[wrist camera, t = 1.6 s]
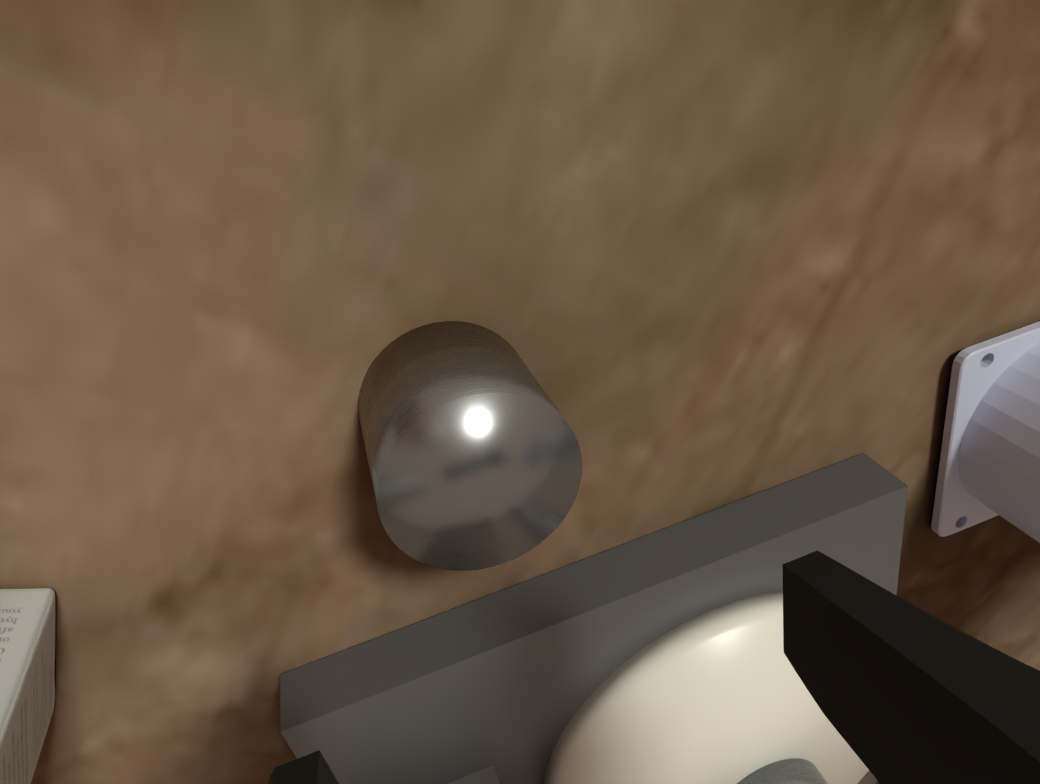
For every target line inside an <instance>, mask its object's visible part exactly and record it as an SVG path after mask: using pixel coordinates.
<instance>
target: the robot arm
mask: <svg viewBox="0 0 1040 784" xmlns="http://www.w3.org/2000/svg"><path fill="white" fill-rule="evenodd" d="M998 515H1000V516H1001V517H1002V518H1004V519H1005V520H1007V521H1008V522H1010V523H1011V524H1013V525H1014V526H1016V527H1017V528H1018V529H1020V530H1021V531H1023V532H1024V533H1026V534H1027V535H1029V536H1030V537H1032V538H1033V539H1034V540H1036V541H1037V542H1039V543H1040V321H1039V322H1036V323H1033V324H1031V325H1028V326H1025V327H1022V328H1020V329H1017V330H1014V331H1011V332H1009V333H1006V334H1003V335H1000V336H998V337H995V338H992V339H989V340H986V341H984V342H981V343H978V344H975V345H973V346H970V347H967V348H965V349H963V350H962V351H960V352H959V353H958V354H957V356H956V357H955V359H954V361H953V365H952V372H951V380H950V387H949V395H948V402H947V410H946V418H945V425H944V433H943V440H942V448H941V456H940V463H939V471H938V478H937V486H936V493H935V501H934V509H933V516H932V524H931V527H932V530H933V531H934V532H935V533H937V534H938V535H939V536H942V537H945V536H949V535H951V534H954V533H956V532H959V531H961V530H964V529H966V528H969V527H971V526H973V525H976V524H978V523H981V522H983V521H986V520H988V519H991V518H993V517H995V516H998ZM782 568H783V647H784V654H785V655H786V657H787V658H788V660H789V662H790V663H791V665H792V666H793V668H794V670H795V671H796V673H797V674H798V676H799V677H800V679H801V681H802V682H803V684H804V685H805V687H806V688H807V690H808V691H809V693H810V694H811V696H812V697H813V699H814V700H815V702H816V703H817V705H818V706H819V708H820V709H821V711H822V712H823V714H824V715H825V716H826V717H827V719H828V720H829V721H830V722H831V724H832V725H833V726H834V727H835V729H836V730H837V731H838V732H839V734H840V735H841V736H842V737H843V739H844V740H845V741H846V742H847V744H848V745H849V746H850V747H851V748H852V750H853V751H854V752H855V753H856V755H857V756H858V757H859V758H860V760H861V761H862V762H863V763H864V764H865V766H866V767H867V768H868V769H869V771H870V772H871V773H872V774H873V775H874V777H875V778H876V779H877V780H878V781H879V783H880V784H1040V671H1039V670H1037V669H1034V668H1032V667H1030V666H1028V665H1026V664H1024V663H1022V662H1020V661H1018V660H1016V659H1014V658H1012V657H1010V656H1008V655H1006V654H1004V653H1002V652H1000V651H998V650H996V649H994V648H992V647H991V646H989V645H987V644H985V643H983V642H981V641H979V640H977V639H975V638H974V637H972V636H970V635H968V634H966V633H964V632H962V631H960V630H959V629H957V628H955V627H953V626H951V625H949V624H947V623H945V622H943V621H942V620H940V619H938V618H936V617H934V616H932V615H931V614H929V613H927V612H925V611H923V610H922V609H920V608H918V607H916V606H914V605H913V604H911V603H909V602H907V601H906V600H904V599H902V598H900V597H898V596H897V595H895V594H893V593H891V592H890V591H888V590H886V589H884V588H883V587H881V586H879V585H877V584H876V583H874V582H872V581H870V580H869V579H867V578H865V577H863V576H862V575H860V574H858V573H856V572H855V571H853V570H851V569H850V568H848V567H846V566H844V565H843V564H841V563H839V562H837V561H836V560H834V559H832V558H830V557H828V556H827V555H825V554H823V553H821V552H819V551H818V550H817V551H815V552H812V553H810V554H807V555H805V556H802V557H800V558H797V559H795V560H792V561H790V562H787V563H785V564H782ZM269 784H339V783H338V781H337V779H336V778H335V776H334V774H333V772H332V771H331V769H330V767H329V766H328V764H327V762H326V761H325V759H324V757H323V755H322V754H321V752H320V750H318V751H316V752H313V753H311V754H308V755H306V756H303V757H301V758H298V759H296V760H293V761H291V762H288V763H286V764H283V765H281V766H278V767H276V768H275V769H274V771H273V772H272V774H271V776H270V779H269Z"/></svg>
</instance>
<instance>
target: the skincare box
mask: <svg viewBox="0 0 1040 784" xmlns="http://www.w3.org/2000/svg"><path fill="white" fill-rule="evenodd" d="M54 670H55V592H54V590H53V589H50V588H34V589H0V784H31V782H32V778H33V775H34V772H35V769H36V765H37V762H38V759H39V756H40V752H41V749H42V746H43V743H44V740H45V736H46V733H47V730H48V727H49V723H50V720H51V717H52V713H53V710H54V703H55V679H54Z"/></svg>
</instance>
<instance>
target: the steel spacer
mask: <svg viewBox="0 0 1040 784" xmlns="http://www.w3.org/2000/svg"><path fill="white" fill-rule="evenodd" d="M358 412H359V419H360V425H361V429H362V434H363V439H364V444H365V449H366V454H367V459H368V464H369V469H370V474H371V479H372V483H373V488H374V493H375V498H376V503H377V508H378V513H379V516H380V519H381V523H382V525H383V527H384V529H385V531H386V533H387V534H388V536H389V537H390V538H391V540H392V541H393V543H394V544H395V545H396V546H397V547H398V548H399V549H400V550H402V551H403V552H404V553H406V554H407V555H408V556H410V557H411V558H413V559H415V560H417V561H419V562H421V563H424V564H427V565H429V566H432V567H436V568H441V569H447V570H476V569H483V568H488V567H493V566H496V565H499V564H502V563H505V562H508V561H510V560H512V559H515V558H517V557H519V556H521V555H522V554H524V553H526V552H528V551H529V550H531V549H532V548H534V547H535V546H537V545H538V544H540V543H541V542H542V541H543V540H544V539H546V538H547V537H548V536H549V535H550V534H551V533H552V532H553V531H554V530H555V529H556V528H557V527H558V525H559V524H560V523H561V522H562V520H563V519H564V518H565V516H566V515H567V513H568V511H569V510H570V508H571V506H572V504H573V502H574V500H575V498H576V495H577V492H578V489H579V486H580V481H581V475H582V459H581V452H580V448H579V444H578V441H577V439H576V437H575V435H574V433H573V431H572V430H571V428H570V427H569V425H568V424H567V422H566V421H565V419H564V418H563V417H562V415H561V414H560V412H559V411H558V410H557V408H556V407H555V405H554V404H553V403H552V401H551V400H550V398H549V397H548V396H547V394H546V393H545V391H544V390H543V389H542V387H541V386H540V384H539V383H538V382H537V380H536V379H535V377H534V376H533V375H532V373H531V372H530V370H529V369H528V368H527V366H526V365H525V363H524V362H523V361H522V359H521V358H520V356H519V355H518V354H517V352H516V351H515V350H514V348H513V347H512V346H511V345H510V344H509V343H508V342H507V341H506V340H505V339H503V338H502V337H501V336H500V335H498V334H496V333H495V332H493V331H491V330H489V329H487V328H485V327H482V326H479V325H476V324H472V323H467V322H459V321H446V322H437V323H432V324H428V325H424V326H421V327H418V328H416V329H413V330H411V331H409V332H407V333H405V334H403V335H401V336H400V337H398V338H397V339H396V340H394V341H393V342H391V343H390V344H389V345H388V346H387V347H386V348H385V349H383V350H382V351H381V353H380V354H379V355H378V356H377V357H376V358H375V360H374V361H373V363H372V364H371V366H370V367H369V369H368V371H367V373H366V375H365V377H364V379H363V382H362V385H361V388H360V393H359V399H358Z"/></svg>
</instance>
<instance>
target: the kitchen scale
mask: <svg viewBox="0 0 1040 784" xmlns="http://www.w3.org/2000/svg"><path fill="white" fill-rule="evenodd" d="M907 491H908V486H907V485H906V484H905V483H903V482H902V481H901V480H899V479H898V478H897V477H895V476H894V475H893V474H891V473H890V472H889V471H887V470H886V469H884V468H883V467H882V466H880V465H879V464H878V463H876V462H875V461H874V460H872V459H871V458H870V457H868V456H867V455H866V454H864V453H862V454H860V455H857V456H854V457H852V458H849V459H846V460H844V461H841V462H839V463H836V464H833V465H831V466H828V467H825V468H823V469H820V470H817V471H815V472H812V473H810V474H807V475H804V476H802V477H799V478H796V479H794V480H791V481H788V482H786V483H783V484H781V485H778V486H775V487H773V488H770V489H767V490H765V491H762V492H760V493H757V494H754V495H752V496H749V497H746V498H744V499H741V500H738V501H736V502H733V503H731V504H728V505H725V506H723V507H720V508H717V509H715V510H712V511H709V512H707V513H704V514H702V515H699V516H696V517H694V518H691V519H688V520H686V521H683V522H681V523H678V524H675V525H673V526H670V527H667V528H665V529H662V530H659V531H657V532H654V533H652V534H649V535H646V536H644V537H641V538H638V539H636V540H633V541H630V542H628V543H625V544H623V545H620V546H617V547H615V548H612V549H609V550H607V551H604V552H601V553H599V554H596V555H594V556H591V557H588V558H586V559H583V560H580V561H578V562H575V563H573V564H570V565H567V566H565V567H562V568H559V569H557V570H554V571H551V572H549V573H546V574H544V575H541V576H538V577H536V578H533V579H530V580H528V581H525V582H522V583H520V584H517V585H515V586H512V587H509V588H507V589H504V590H501V591H499V592H496V593H494V594H491V595H488V596H486V597H483V598H480V599H478V600H475V601H472V602H470V603H467V604H465V605H462V606H459V607H457V608H454V609H451V610H449V611H446V612H443V613H441V614H438V615H436V616H433V617H430V618H428V619H425V620H422V621H420V622H417V623H414V624H412V625H409V626H407V627H404V628H401V629H399V630H396V631H393V632H391V633H388V634H386V635H383V636H380V637H378V638H375V639H372V640H370V641H367V642H364V643H362V644H359V645H357V646H354V647H351V648H349V649H346V650H343V651H341V652H338V653H335V654H333V655H330V656H328V657H325V658H322V659H320V660H317V661H314V662H312V663H309V664H307V665H304V666H301V667H299V668H296V669H293V670H291V671H288V672H285V673H283V674H280V733H281V734H282V736H283V737H284V739H285V741H286V742H287V744H288V746H289V747H290V749H291V750H292V752H293V754H294V755H295V757H296V758H297V759H298V758H301V757H303V756H306V755H308V754H311V753H313V752H316V751H318V750H320V752H321V754H322V755H323V757H324V759H325V761H326V762H327V764H328V766H329V767H330V769H331V771H332V772H333V774H334V776H335V778H336V779H337V781H338V783H339V784H737V783H738V782H739V781H741V780H742V779H743V778H745V777H746V776H748V775H749V774H751V773H752V772H754V771H756V770H757V769H759V768H761V767H764V766H766V765H768V764H771V763H773V762H777V761H780V760H784V759H791V758H800V759H805V760H808V761H810V762H812V763H813V764H814V765H815V766H816V768H817V769H818V770H819V772H820V773H821V774H822V776H823V777H824V779H825V780H826V781H827V783H828V784H877V779H876V778H875V777H874V775H873V774H872V773H871V772H870V771H869V769H868V768H867V767H866V766H865V764H864V763H863V762H862V761H861V760H860V758H859V757H858V756H857V755H856V753H855V752H854V751H853V750H852V748H851V747H850V746H849V745H848V744H847V742H846V741H845V740H844V739H843V737H842V736H841V735H840V734H839V732H838V731H837V730H836V729H835V727H834V726H833V725H832V724H831V722H830V721H829V720H828V719H827V717H826V716H825V715H824V714H823V712H822V711H821V709H820V708H819V706H818V705H817V703H816V702H815V700H814V699H813V697H812V696H811V694H810V693H809V691H808V690H807V688H806V687H805V685H804V684H803V682H802V681H801V679H800V677H799V676H798V674H797V673H796V671H795V670H794V668H793V666H792V665H791V663H790V662H789V660H788V658H787V657H786V655H785V654H784V647H783V568H782V564H785V563H787V562H790V561H792V560H795V559H797V558H800V557H802V556H805V555H807V554H810V553H812V552H815V551H817V550H818V551H819V552H821V553H823V554H825V555H827V556H828V557H830V558H832V559H834V560H836V561H837V562H839V563H841V564H843V565H844V566H846V567H848V568H850V569H851V570H853V571H855V572H856V573H858V574H860V575H862V576H863V577H865V578H867V579H869V580H870V581H872V582H874V583H876V584H877V585H879V586H881V587H883V588H884V589H886V590H888V591H890V592H891V593H893V594H895V595H897V586H898V576H899V567H900V557H901V548H902V538H903V529H904V519H905V510H906V500H907Z"/></svg>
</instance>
